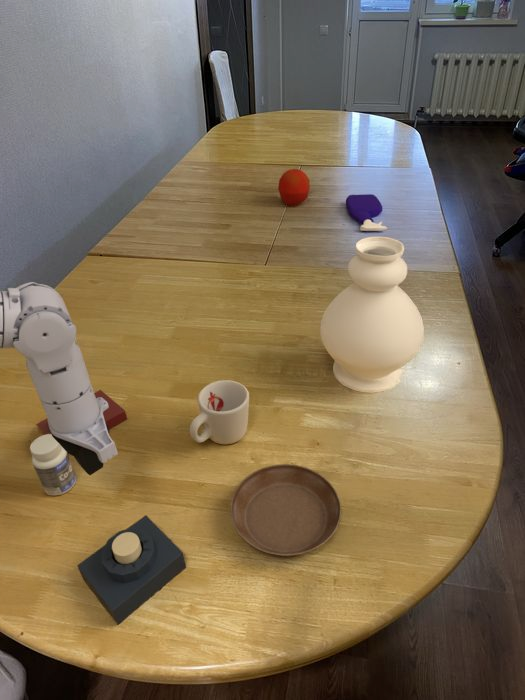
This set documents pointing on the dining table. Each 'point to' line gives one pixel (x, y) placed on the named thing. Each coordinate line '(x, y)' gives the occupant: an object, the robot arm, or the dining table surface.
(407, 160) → the dining table surface
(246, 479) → the saucer
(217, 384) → the cup
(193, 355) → the dining table surface
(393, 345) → the decorative vase
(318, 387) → the dining table surface
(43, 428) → the red socket plate
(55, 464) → the pill bottle
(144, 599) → the dark knob button block
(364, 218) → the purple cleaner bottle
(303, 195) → the apple
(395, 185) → the dining table surface
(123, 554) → the cylindrical peg
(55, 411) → the robot arm
